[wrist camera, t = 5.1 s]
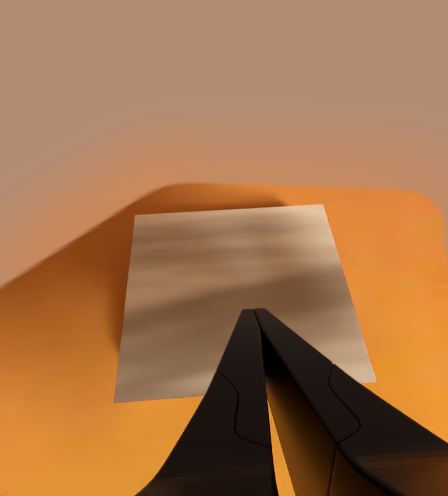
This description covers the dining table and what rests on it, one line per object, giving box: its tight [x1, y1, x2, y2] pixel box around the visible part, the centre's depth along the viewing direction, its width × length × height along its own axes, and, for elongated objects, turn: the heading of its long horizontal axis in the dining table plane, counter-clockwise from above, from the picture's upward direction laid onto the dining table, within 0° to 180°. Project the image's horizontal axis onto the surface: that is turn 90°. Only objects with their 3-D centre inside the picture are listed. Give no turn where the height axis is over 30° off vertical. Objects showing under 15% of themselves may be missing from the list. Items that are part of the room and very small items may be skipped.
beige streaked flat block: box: [114, 204, 376, 403], centre depth 14 cm, size 3×12×10 cm
